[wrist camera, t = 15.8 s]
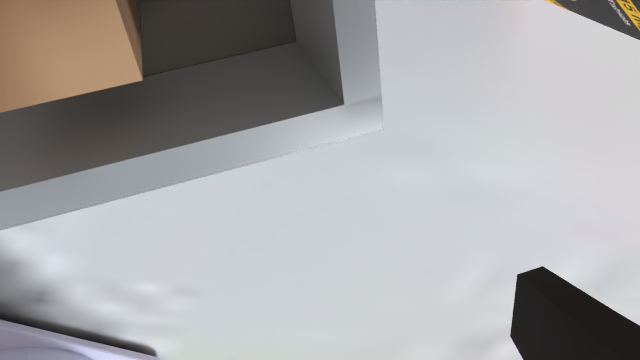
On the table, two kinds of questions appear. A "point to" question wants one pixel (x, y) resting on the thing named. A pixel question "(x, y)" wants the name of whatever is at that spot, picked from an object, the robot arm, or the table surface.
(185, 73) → the grey u-shaped wall
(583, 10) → the medicine bottle
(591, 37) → the table surface
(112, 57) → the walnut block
